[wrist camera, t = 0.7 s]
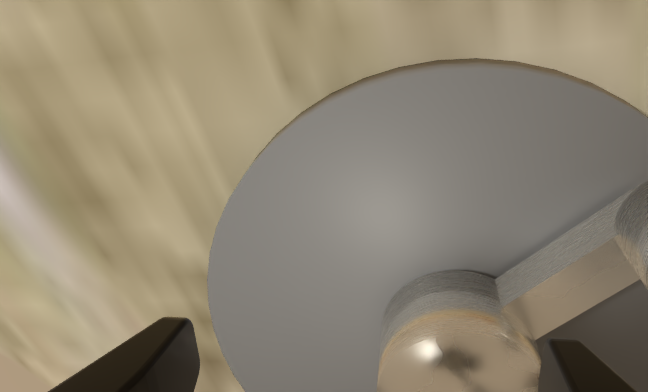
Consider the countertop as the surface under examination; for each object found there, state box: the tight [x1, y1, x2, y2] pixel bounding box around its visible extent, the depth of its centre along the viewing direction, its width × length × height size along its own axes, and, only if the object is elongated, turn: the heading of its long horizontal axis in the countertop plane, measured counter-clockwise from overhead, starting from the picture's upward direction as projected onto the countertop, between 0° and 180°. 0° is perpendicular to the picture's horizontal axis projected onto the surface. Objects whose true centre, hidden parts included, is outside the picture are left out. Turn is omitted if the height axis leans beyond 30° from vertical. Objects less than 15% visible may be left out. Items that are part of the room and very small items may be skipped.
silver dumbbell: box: [377, 181, 648, 392], centre depth 15 cm, size 12×5×5 cm, turn 136°
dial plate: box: [207, 58, 648, 392], centre depth 20 cm, size 18×18×2 cm
